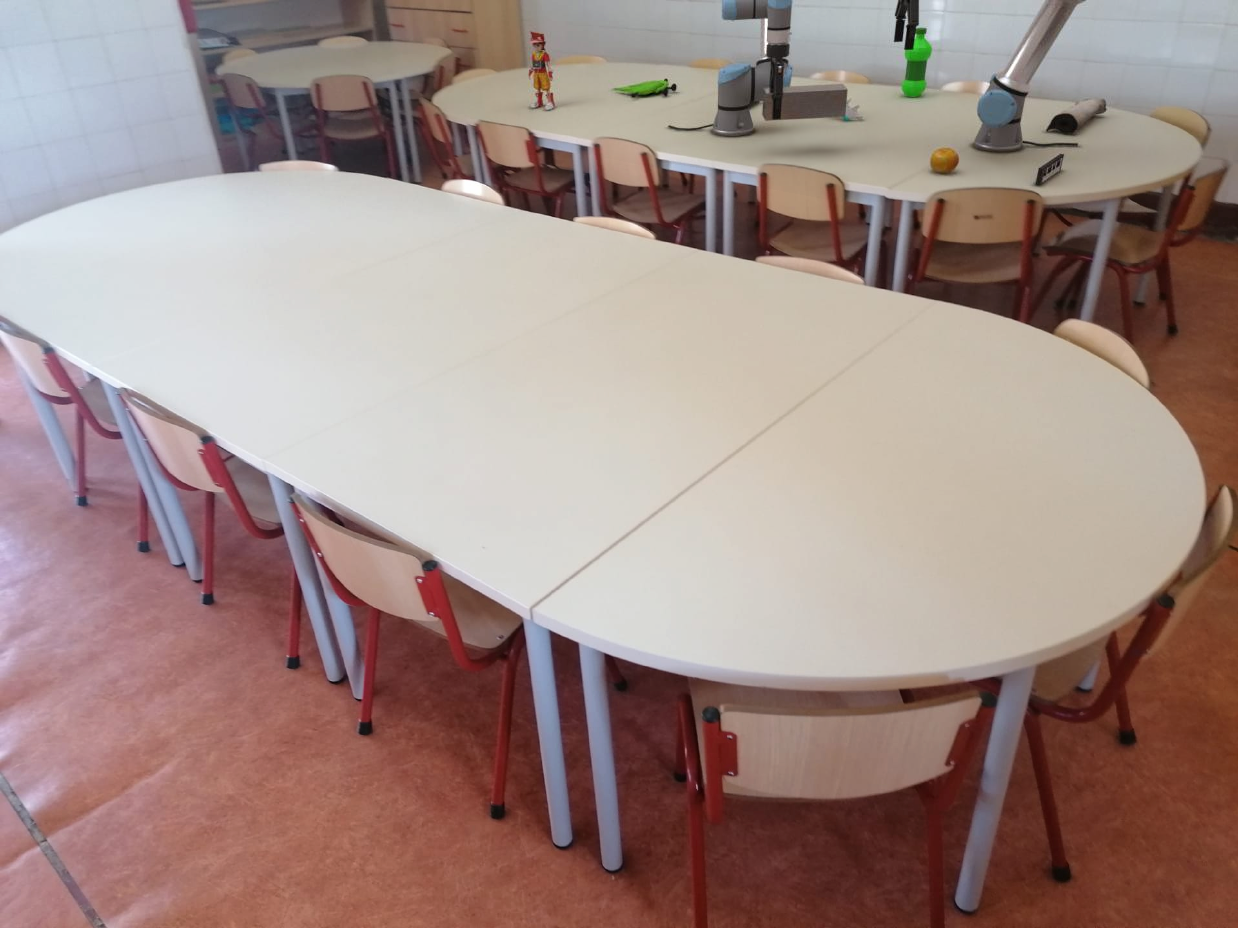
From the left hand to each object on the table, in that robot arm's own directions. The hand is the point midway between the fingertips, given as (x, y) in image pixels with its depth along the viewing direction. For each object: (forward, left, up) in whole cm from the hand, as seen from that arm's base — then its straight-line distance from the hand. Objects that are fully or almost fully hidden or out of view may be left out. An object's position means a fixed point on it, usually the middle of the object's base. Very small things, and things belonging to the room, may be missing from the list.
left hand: (774, 115), depth 305 cm
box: (+8, +5, 0) cm, 10 cm away
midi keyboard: (+89, +3, -12) cm, 90 cm away
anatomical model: (+7, +53, -12) cm, 55 cm away
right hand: (+36, +18, +20) cm, 45 cm away
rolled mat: (+87, +69, -12) cm, 112 cm away
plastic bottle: (+22, +93, -12) cm, 97 cm away
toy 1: (-117, +28, -12) cm, 121 cm away
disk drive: (-38, +57, -12) cm, 70 cm away
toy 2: (-90, +65, -12) cm, 112 cm away
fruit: (+58, -2, -12) cm, 60 cm away
